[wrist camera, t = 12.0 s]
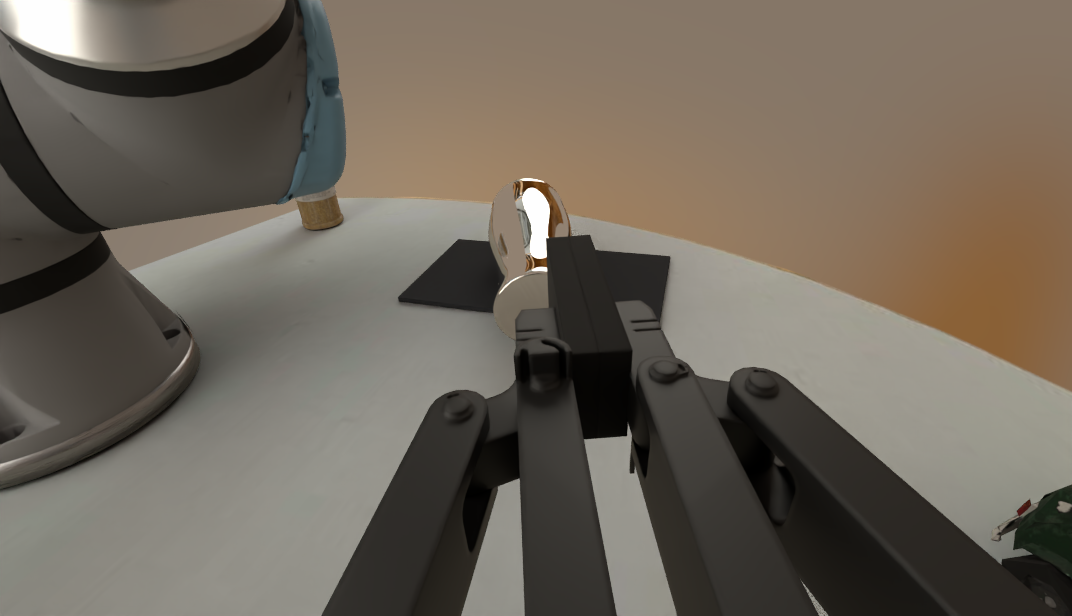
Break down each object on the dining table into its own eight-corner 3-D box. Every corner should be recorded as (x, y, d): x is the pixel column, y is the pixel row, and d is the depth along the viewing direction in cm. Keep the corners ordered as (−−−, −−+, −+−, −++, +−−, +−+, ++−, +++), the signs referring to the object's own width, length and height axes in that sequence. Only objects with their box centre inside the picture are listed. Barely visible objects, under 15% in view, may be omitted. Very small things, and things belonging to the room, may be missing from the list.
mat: (398, 301, 41) (397, 297, 41) (459, 242, 51) (458, 239, 50) (657, 333, 35) (658, 328, 35) (670, 260, 45) (670, 256, 45)
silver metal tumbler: (534, 366, 36) (524, 259, 48) (612, 311, 33) (580, 214, 45) (464, 310, 32) (472, 211, 44) (544, 245, 30) (530, 159, 42)
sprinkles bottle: (307, 219, 59) (269, 97, 52) (346, 214, 59) (315, 94, 52) (299, 233, 55) (258, 104, 48) (342, 228, 56) (307, 100, 49)
